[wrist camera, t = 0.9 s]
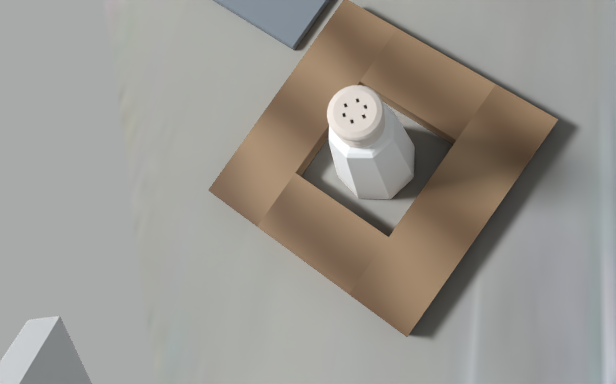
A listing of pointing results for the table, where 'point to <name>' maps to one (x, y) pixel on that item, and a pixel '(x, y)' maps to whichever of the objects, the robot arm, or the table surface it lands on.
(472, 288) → the table surface
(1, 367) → the robot arm
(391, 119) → the pepper shaker
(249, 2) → the grey mat
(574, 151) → the table surface
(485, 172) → the walnut frame
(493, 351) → the table surface
